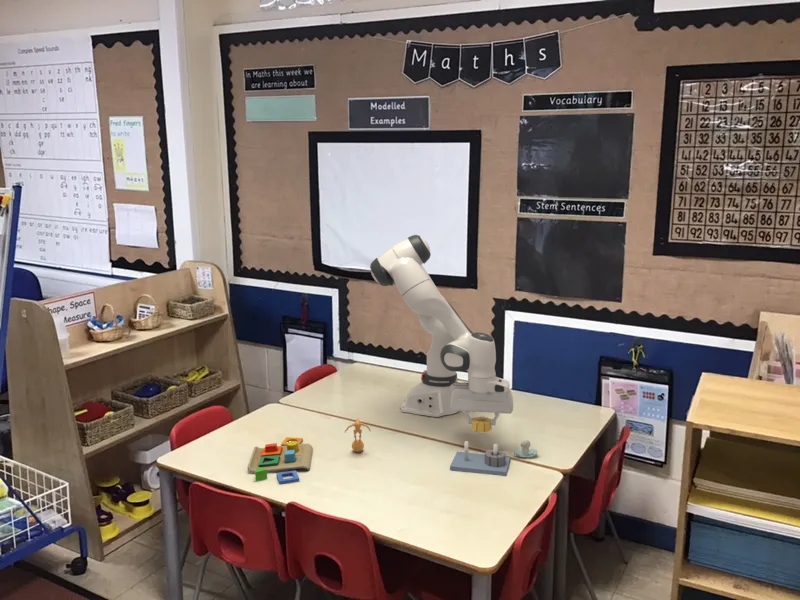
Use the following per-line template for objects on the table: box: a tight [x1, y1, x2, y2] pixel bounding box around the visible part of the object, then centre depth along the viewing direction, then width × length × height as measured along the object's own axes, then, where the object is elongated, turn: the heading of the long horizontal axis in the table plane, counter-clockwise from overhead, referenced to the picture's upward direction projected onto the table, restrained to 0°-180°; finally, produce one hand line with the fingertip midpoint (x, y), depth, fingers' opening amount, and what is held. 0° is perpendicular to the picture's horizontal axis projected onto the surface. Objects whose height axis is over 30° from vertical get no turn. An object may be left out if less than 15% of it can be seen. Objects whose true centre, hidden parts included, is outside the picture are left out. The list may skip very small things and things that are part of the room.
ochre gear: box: [471, 416, 493, 433], centre depth 230 cm, size 6×6×3 cm
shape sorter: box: [247, 436, 314, 485], centre depth 223 cm, size 34×19×5 cm, turn 4°
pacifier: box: [513, 439, 538, 459], centre depth 226 cm, size 7×6×6 cm
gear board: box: [449, 440, 511, 477], centre depth 219 cm, size 17×12×7 cm
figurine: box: [344, 418, 371, 453], centre depth 228 cm, size 8×6×12 cm
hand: (481, 424), depth 230 cm, fingers closed on ochre gear, 6 cm apart
